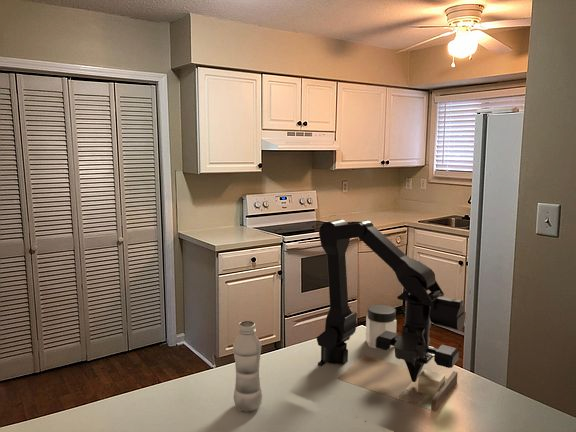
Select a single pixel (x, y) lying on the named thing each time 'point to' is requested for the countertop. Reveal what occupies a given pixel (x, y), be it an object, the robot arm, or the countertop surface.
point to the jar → (379, 322)
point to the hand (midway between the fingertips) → (414, 381)
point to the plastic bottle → (247, 368)
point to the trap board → (393, 381)
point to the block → (430, 382)
